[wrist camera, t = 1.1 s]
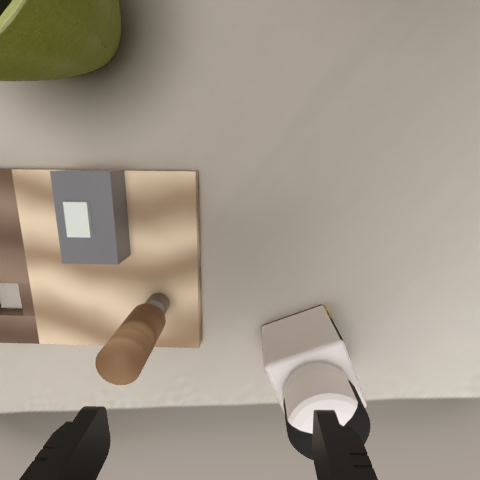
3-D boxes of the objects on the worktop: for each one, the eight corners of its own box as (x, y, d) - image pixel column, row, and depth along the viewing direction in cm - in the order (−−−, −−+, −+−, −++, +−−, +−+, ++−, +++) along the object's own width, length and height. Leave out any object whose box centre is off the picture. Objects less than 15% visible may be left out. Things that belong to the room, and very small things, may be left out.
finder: (70, 170, 28) (46, 170, 25) (124, 170, 28) (107, 171, 25) (80, 253, 30) (59, 264, 27) (130, 254, 30) (116, 266, 27)
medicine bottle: (344, 359, 34) (394, 461, 22) (283, 379, 35) (300, 487, 23) (323, 303, 32) (365, 381, 21) (260, 325, 33) (265, 412, 22)
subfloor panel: (-68, 168, 30) (-84, 168, 29) (198, 171, 30) (195, 171, 28) (-31, 333, 35) (-44, 341, 33) (201, 340, 34) (199, 347, 32)
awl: (142, 287, 31) (93, 344, 21) (174, 288, 31) (139, 345, 21) (144, 316, 32) (97, 384, 22) (175, 317, 32) (142, 385, 22)
